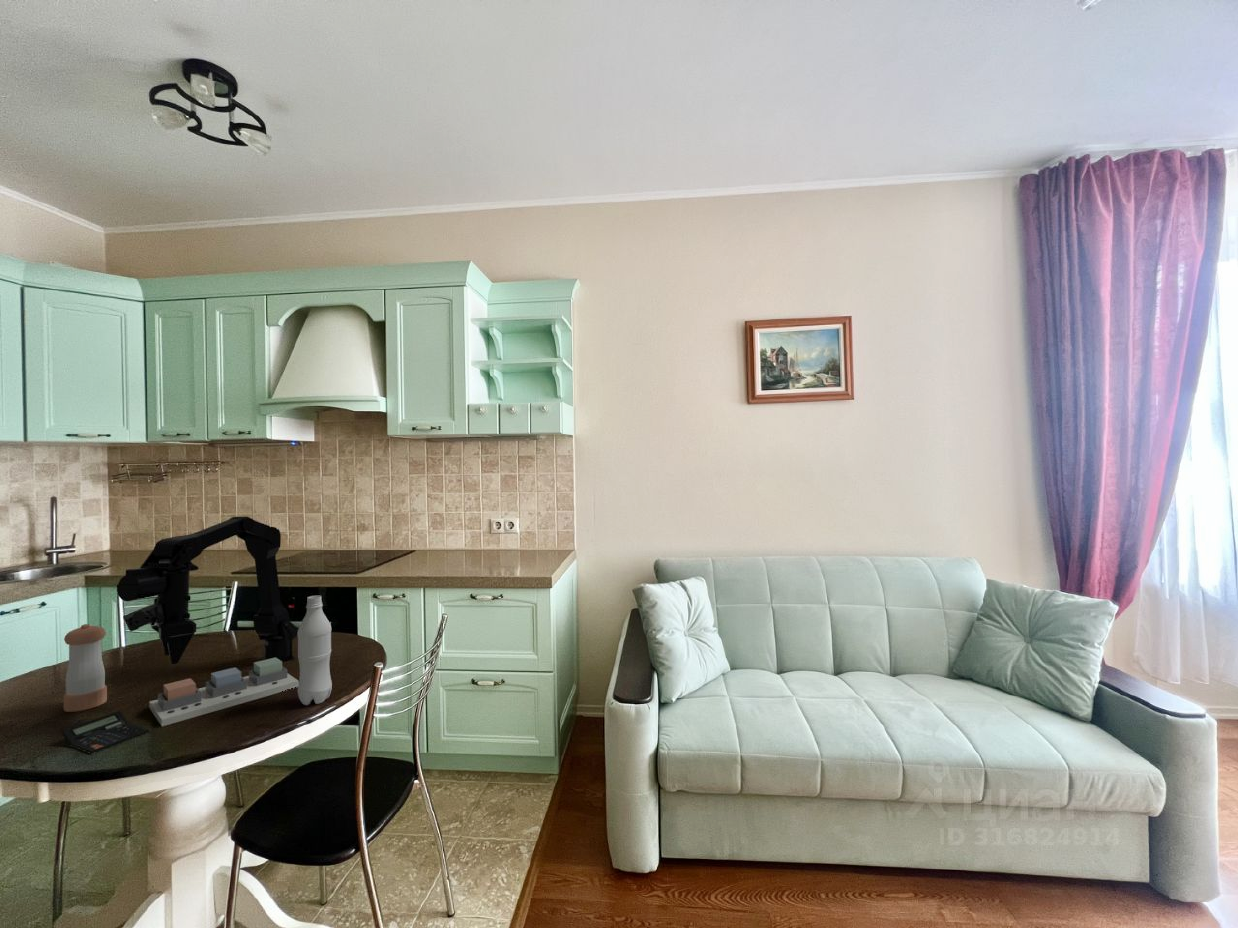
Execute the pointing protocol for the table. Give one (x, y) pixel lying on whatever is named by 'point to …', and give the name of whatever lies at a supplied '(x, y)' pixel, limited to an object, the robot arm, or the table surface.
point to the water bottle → (314, 654)
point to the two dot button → (225, 677)
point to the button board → (220, 696)
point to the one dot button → (267, 666)
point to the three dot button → (179, 689)
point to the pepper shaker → (85, 669)
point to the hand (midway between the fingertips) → (171, 659)
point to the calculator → (102, 732)
